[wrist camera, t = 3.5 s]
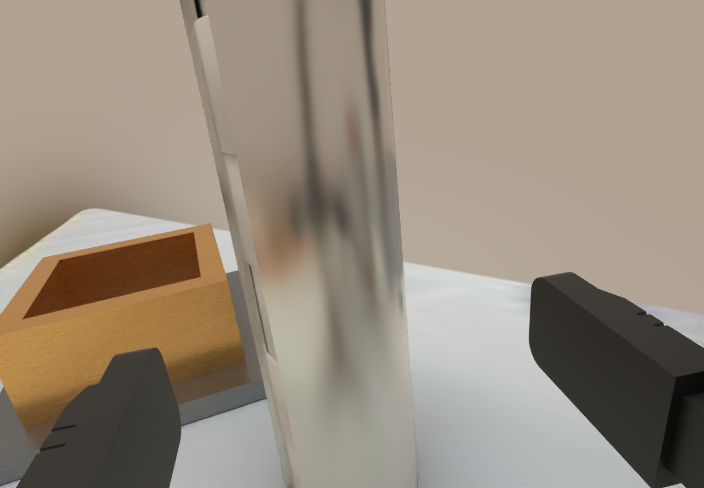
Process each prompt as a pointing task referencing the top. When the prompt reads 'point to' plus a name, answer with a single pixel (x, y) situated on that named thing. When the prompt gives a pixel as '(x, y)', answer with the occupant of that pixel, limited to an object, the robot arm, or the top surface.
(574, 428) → the top surface
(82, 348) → the dock
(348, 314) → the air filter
